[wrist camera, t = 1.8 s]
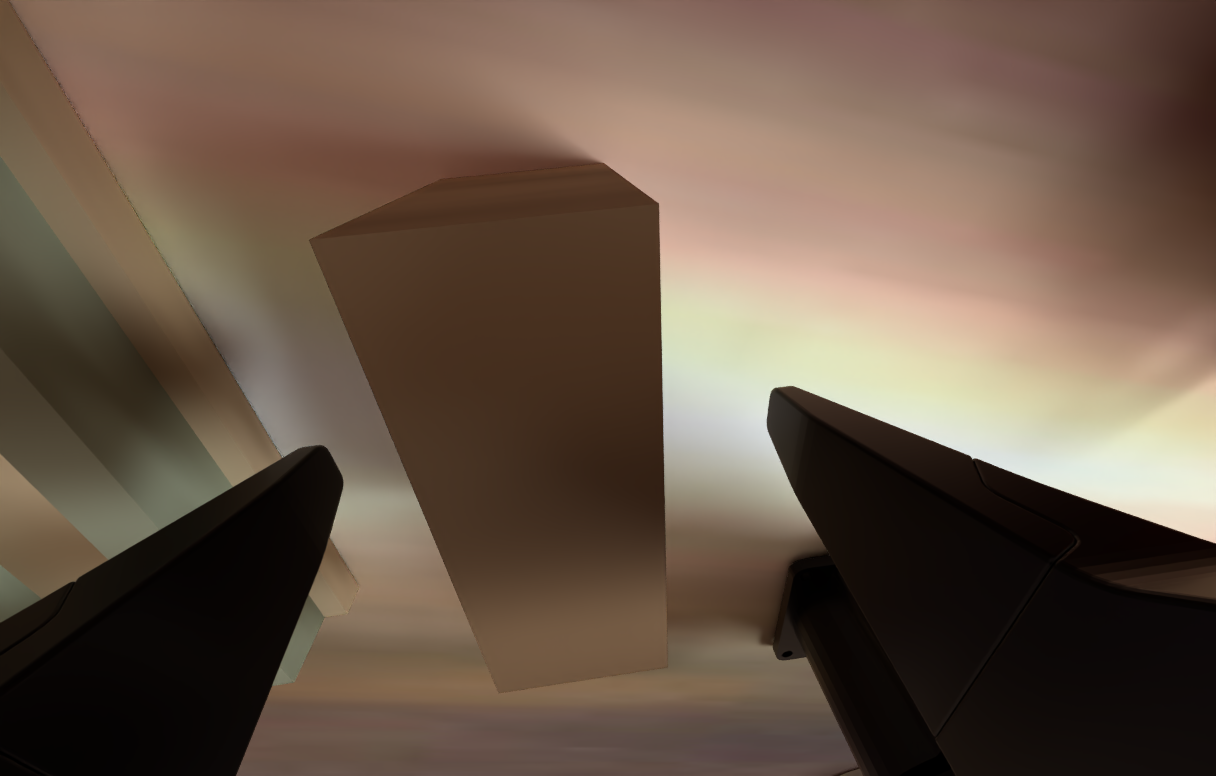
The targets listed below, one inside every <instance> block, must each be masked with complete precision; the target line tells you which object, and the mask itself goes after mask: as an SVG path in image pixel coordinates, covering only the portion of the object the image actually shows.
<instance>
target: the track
mask: <svg viewBox="0 0 1216 776" xmlns="http://www.w3.org/2000/svg"><path fill="white" fill-rule="evenodd" d="M280 459H282V457H281V456H280V454H279V452H278V451H277V449H276V447H275V446H274V444H273V442H272V441H271V439H270V437H269V436H268V434H267V432H266V431H265V429H264V427H263V426H262V424H261V422H260V421H259V419H258V417H257V416H256V414H255V412H254V410H253V409H252V407H251V405H250V404H249V402H248V400H247V399H246V397H245V395H244V394H243V392H242V390H241V389H240V387H239V385H238V384H237V382H236V380H235V379H234V377H233V375H232V374H231V372H230V370H229V369H228V367H227V365H226V364H225V362H224V360H223V359H222V357H221V355H220V354H219V352H218V350H217V349H216V347H215V345H214V344H213V342H212V340H211V339H210V337H209V335H208V334H207V332H206V330H205V329H204V327H203V325H202V324H201V322H200V320H199V318H198V317H197V315H196V313H195V312H194V310H193V308H192V307H191V305H190V303H189V302H188V300H187V298H186V297H185V295H184V293H183V292H182V290H181V288H180V287H179V285H178V283H177V282H176V280H175V278H174V277H173V275H172V273H171V272H170V270H169V268H168V267H167V265H166V263H165V262H164V260H163V258H162V257H161V255H160V253H159V252H158V250H157V248H156V247H155V245H154V243H153V242H152V240H151V238H150V237H149V235H148V233H147V232H146V230H145V228H144V227H143V225H142V223H141V221H140V220H139V218H138V216H137V215H136V213H135V211H134V210H133V208H132V206H131V205H130V203H129V201H128V200H127V198H126V196H125V195H124V193H123V191H122V190H121V188H120V186H119V185H118V183H117V181H116V180H115V178H114V176H113V175H112V173H111V171H110V170H109V168H108V166H107V165H106V163H105V161H104V160H103V158H102V156H101V155H100V153H99V151H98V150H97V148H96V146H95V145H94V143H93V141H92V140H91V138H90V136H89V135H88V133H87V131H86V130H85V128H84V126H83V124H82V123H81V121H80V119H79V118H78V116H77V114H76V113H75V111H74V109H73V108H72V106H71V104H70V103H69V101H68V99H67V98H66V96H65V94H64V93H63V91H62V89H61V88H60V86H59V84H58V83H57V81H56V79H55V78H54V76H53V74H52V73H51V71H50V69H49V68H48V66H47V64H46V63H45V61H44V59H43V58H42V56H41V54H40V53H39V51H38V49H37V48H36V46H35V44H34V43H33V41H32V39H31V38H30V36H29V34H28V33H27V31H26V29H25V27H24V26H23V24H22V22H21V21H20V19H19V17H18V16H17V14H16V12H15V11H14V9H13V7H12V6H11V4H10V2H9V1H8V0H0V622H2V621H4V620H6V619H7V618H9V617H11V616H13V615H14V614H16V613H18V612H20V611H21V610H23V609H25V608H27V607H28V606H30V605H32V604H34V603H35V602H37V601H39V600H40V599H42V598H44V597H46V596H47V595H49V594H51V593H52V592H54V591H56V590H58V589H59V588H61V587H63V586H64V585H66V584H68V583H70V582H73V581H74V582H76V580H77V579H78V578H79V577H80V576H82V575H83V574H85V573H87V572H89V571H90V570H92V569H94V568H95V567H97V566H99V565H100V564H102V563H104V562H106V561H107V560H109V559H111V558H112V557H114V556H116V555H118V554H119V553H121V552H123V551H124V550H126V549H128V548H130V547H131V546H133V545H135V544H136V543H138V542H140V541H141V540H143V539H145V538H147V537H148V536H150V535H152V534H153V533H155V532H157V531H159V530H160V529H162V528H164V527H165V526H167V525H169V524H171V523H172V522H174V521H176V520H177V519H179V518H181V517H182V516H184V515H186V514H188V513H189V512H191V511H193V510H194V509H196V508H198V507H200V506H201V505H203V504H205V503H206V502H208V501H210V500H212V499H213V498H215V497H217V496H218V495H220V494H222V493H224V492H225V491H227V490H229V489H230V488H232V487H234V486H235V485H237V484H239V483H241V482H242V481H244V480H246V479H247V478H249V477H251V476H253V475H254V474H256V473H258V472H259V471H261V470H263V469H265V468H266V467H268V466H270V465H271V464H273V463H275V462H276V461H278V460H280ZM358 589H359V586H358V584H357V583H356V581H355V579H354V578H353V576H352V574H351V573H350V571H349V569H348V568H347V566H346V564H345V563H344V561H343V559H342V558H341V556H340V554H339V553H338V551H337V549H336V548H335V546H334V544H333V543H332V541H331V539H330V538H329V540H328V544H327V547H326V551H325V554H324V557H323V560H322V562H321V565H320V568H319V570H318V573H317V575H316V578H315V580H314V583H313V585H312V588H311V590H310V593H309V595H308V598H307V600H306V603H305V605H304V608H303V610H302V613H301V615H300V618H299V620H298V623H297V625H296V628H295V630H294V633H293V635H292V638H291V640H290V643H289V645H288V648H287V650H286V653H285V655H284V658H283V660H282V662H281V665H280V667H279V670H278V672H277V675H276V677H275V680H274V682H273V685H272V686H274V685H281V684H288V683H294V682H295V680H296V678H297V675H298V673H299V671H300V669H301V667H302V665H303V663H304V660H305V658H306V656H307V654H308V652H309V650H310V648H311V646H312V643H313V641H314V639H315V637H316V635H317V633H318V631H319V628H320V626H321V624H322V622H323V620H324V618H325V617H331V616H338V615H345V614H348V612H349V610H350V608H351V605H352V603H353V601H354V598H355V596H356V593H357V591H358Z"/></svg>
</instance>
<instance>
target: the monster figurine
mask: <svg viewBox="0 0 1216 776" xmlns="http://www.w3.org/2000/svg"><path fill="white" fill-rule="evenodd" d="M840 776H863V775H862V773H861V770H860V769H857V770H854V771H850V772H847V773H845V774H842V775H840Z"/></svg>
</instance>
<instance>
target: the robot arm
mask: <svg viewBox="0 0 1216 776" xmlns="http://www.w3.org/2000/svg"><path fill="white" fill-rule="evenodd" d="M767 429H768V432H769V435H770V437H771V440H772V442H773V444H774V447H775V449H776V451H777V454H778V456H779V458H780V461H781V463H782V465H783V468H784V470H785V472H786V475H787V477H788V479H789V482H790V484H791V486H792V488H793V491H794V493H795V495H796V496H797V498H798V500H799V502H800V504H801V505H802V507H803V509H804V511H805V512H806V514H807V516H808V518H809V519H810V521H811V523H812V525H813V526H814V528H815V530H816V532H817V533H818V535H819V537H820V539H821V540H822V542H823V544H824V546H825V547H826V549H827V551H828V553H829V554H830V555H829V556H823V557H816V558H809V559H802V560H799V561H796V562H795V563H793V564H792V565H791V566H790V568H789V570H788V575H787V580H786V585H785V589H784V594H783V599H782V604H781V609H780V614H779V619H778V624H777V628H776V633H775V638H774V643H773V650H774V652H775V655H776V657H777V659H779V660H790V659H797V658H803V657H807V659H808V661H809V663H810V665H811V667H812V670H813V672H814V674H815V676H816V678H817V680H818V682H819V684H820V686H821V688H822V691H823V693H824V695H825V697H826V699H827V701H828V703H829V705H830V707H831V710H832V712H833V714H834V716H835V718H836V720H837V722H838V724H839V726H840V728H841V731H842V733H843V735H844V737H845V739H846V741H847V743H848V745H849V747H850V749H851V752H852V754H853V756H854V758H855V760H856V762H857V764H858V766H859V768H860V770H861V773H862V775H863V776H1216V543H1213V542H1209V541H1206V540H1203V539H1200V538H1197V537H1194V536H1191V535H1188V534H1185V533H1183V532H1180V531H1177V530H1174V529H1171V528H1168V527H1165V526H1162V525H1159V524H1156V523H1153V522H1150V521H1148V520H1145V519H1142V518H1139V517H1136V516H1133V515H1130V514H1127V513H1124V512H1121V511H1118V510H1116V509H1113V508H1110V507H1107V506H1104V505H1101V504H1098V503H1095V502H1092V501H1089V500H1086V499H1084V498H1081V497H1078V496H1075V495H1072V494H1069V493H1067V492H1064V491H1061V490H1058V489H1055V488H1053V487H1050V486H1047V485H1044V484H1041V483H1038V482H1036V481H1033V480H1031V479H1028V478H1025V477H1023V476H1020V475H1017V474H1015V473H1012V472H1010V471H1007V470H1004V469H1002V468H999V467H997V466H994V465H992V464H989V463H987V462H984V461H982V460H979V459H973V460H972V458H971V456H969V455H966V454H964V453H961V452H959V451H956V450H954V449H951V448H948V447H946V446H943V445H941V444H938V443H936V442H933V441H931V440H928V439H926V438H923V437H921V436H918V435H916V434H913V433H911V432H908V431H906V430H903V429H900V428H898V427H895V426H893V425H890V424H888V423H885V422H883V421H880V420H878V419H875V418H873V417H870V416H868V415H865V414H863V413H860V412H858V411H855V410H852V409H850V408H847V407H845V406H842V405H840V404H837V403H835V402H832V401H830V400H827V399H825V398H822V397H820V396H817V395H815V394H812V393H810V392H807V391H805V390H802V389H799V388H797V387H794V386H786V387H778V388H774V389H773V390H772V391H771V394H770V399H769V407H768V415H767ZM342 490H343V477H342V475H341V473H340V471H339V469H338V467H337V465H336V463H335V461H334V459H333V457H332V455H331V453H330V452H329V450H328V449H327V448H326V447H325V446H322V445H316V446H308V447H302V448H299V449H297V450H295V451H294V452H292V453H290V454H288V455H287V456H285V457H283V458H282V459H280V460H278V461H276V462H275V463H273V464H271V465H270V466H268V467H266V468H265V469H263V470H261V471H259V472H258V473H256V474H254V475H253V476H251V477H249V478H247V479H246V480H244V481H242V482H241V483H239V484H237V485H235V486H234V487H232V488H230V489H229V490H227V491H225V492H224V493H222V494H220V495H218V496H217V497H215V498H213V499H212V500H210V501H208V502H206V503H205V504H203V505H201V506H200V507H198V508H196V509H194V510H193V511H191V512H189V513H188V514H186V515H184V516H182V517H181V518H179V519H177V520H176V521H174V522H172V523H171V524H169V525H167V526H165V527H164V528H162V529H160V530H159V531H157V532H155V533H153V534H152V535H150V536H148V537H147V538H145V539H143V540H141V541H140V542H138V543H136V544H135V545H133V546H131V547H130V548H128V549H126V550H124V551H123V552H121V553H119V554H118V555H116V556H114V557H112V558H111V559H109V560H107V561H106V562H104V563H102V564H100V565H99V566H97V567H95V568H94V569H92V570H90V571H89V572H87V573H85V574H83V575H82V576H80V577H79V578H78V579H77V580H76V582H74V581H73V582H70V583H68V584H66V585H64V586H63V587H61V588H59V589H58V590H56V591H54V592H52V593H51V594H49V595H47V596H46V597H44V598H42V599H40V600H39V601H37V602H35V603H34V604H32V605H30V606H28V607H27V608H25V609H23V610H21V611H20V612H18V613H16V614H14V615H13V616H11V617H9V618H7V619H6V620H4V621H2V622H0V776H236V774H237V772H238V770H239V767H240V765H241V762H242V760H243V757H244V755H245V752H246V750H247V747H248V745H249V742H250V740H251V737H252V735H253V732H254V730H255V727H256V725H257V722H258V720H259V717H260V715H261V712H262V710H263V707H264V705H265V702H266V700H267V697H268V695H269V692H270V690H271V687H272V685H273V682H274V680H275V677H276V675H277V672H278V670H279V667H280V665H281V662H282V660H283V658H284V655H285V653H286V650H287V648H288V645H289V643H290V640H291V638H292V635H293V633H294V630H295V628H296V625H297V623H298V620H299V618H300V615H301V613H302V610H303V608H304V605H305V603H306V600H307V598H308V595H309V593H310V590H311V588H312V585H313V583H314V580H315V578H316V575H317V573H318V570H319V568H320V565H321V562H322V560H323V557H324V554H325V551H326V547H327V544H328V540H329V537H330V533H331V530H332V526H333V523H334V519H335V515H336V512H337V508H338V505H339V501H340V497H341V494H342Z"/></svg>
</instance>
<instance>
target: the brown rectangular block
mask: <svg viewBox="0 0 1216 776" xmlns="http://www.w3.org/2000/svg"><path fill="white" fill-rule="evenodd" d="M309 241H310V244H311V246H312V248H313V251H314V253H315V256H316V258H317V260H318V263H319V265H320V268H321V270H322V272H323V275H324V277H325V279H326V282H327V284H328V287H329V289H330V291H331V294H332V296H333V299H334V301H335V303H336V306H337V308H338V311H339V313H340V315H341V318H342V320H343V323H344V325H345V327H346V330H347V332H348V334H349V337H350V339H351V342H352V344H353V346H354V349H355V351H356V354H357V356H358V358H359V361H360V363H361V366H362V368H363V370H364V373H365V375H366V378H367V380H368V382H369V385H370V387H371V389H372V392H373V394H374V397H375V399H376V401H377V404H378V406H379V409H380V411H381V413H382V416H383V418H384V421H385V423H386V425H387V428H388V430H389V433H390V435H391V437H392V440H393V442H394V444H395V447H396V449H397V452H398V454H399V456H400V459H401V461H402V464H403V466H404V468H405V471H406V473H407V476H408V478H409V480H410V483H411V485H412V488H413V490H414V492H415V495H416V497H417V499H418V502H419V504H420V507H421V509H422V511H423V514H424V516H425V519H426V521H427V523H428V526H429V528H430V531H431V533H432V535H433V538H434V540H435V543H436V545H437V547H438V550H439V552H440V555H441V557H442V559H443V562H444V564H445V566H446V569H447V571H448V574H449V576H450V578H451V581H452V583H453V586H454V588H455V590H456V593H457V595H458V598H459V600H460V602H461V605H462V607H463V610H464V612H465V614H466V617H467V619H468V621H469V624H470V626H471V629H472V631H473V633H474V636H475V638H476V641H477V643H478V645H479V648H480V650H481V653H482V655H483V657H484V660H485V662H486V665H487V667H488V669H489V672H490V674H491V676H492V679H493V681H494V684H495V686H496V688H497V691H498V693H504V692H511V691H517V690H524V689H530V688H537V687H543V686H550V685H556V684H563V683H569V682H576V681H582V680H589V679H595V678H602V677H608V676H615V675H621V674H628V673H634V672H641V671H647V670H654V669H660V668H667V667H668V652H667V600H666V548H665V496H664V444H663V392H662V340H661V288H660V236H659V203H657V202H656V201H654V200H653V199H652V198H650V197H649V196H648V195H646V194H645V193H644V192H642V191H641V190H640V189H638V188H637V187H635V186H634V185H633V184H631V183H630V182H629V181H627V180H626V179H625V178H623V177H622V176H621V175H619V174H618V173H616V172H615V171H614V170H612V169H611V168H610V167H608V166H607V165H606V164H604V163H602V164H592V165H581V166H571V167H561V168H551V169H541V170H531V171H520V172H510V173H500V174H490V175H480V176H469V177H459V178H449V179H441V180H439V181H436V182H434V183H432V184H430V185H428V186H425V187H423V188H421V189H419V190H417V191H414V192H412V193H410V194H408V195H406V196H404V197H401V198H399V199H397V200H395V201H393V202H390V203H388V204H386V205H384V206H382V207H380V208H377V209H375V210H373V211H371V212H369V213H366V214H364V215H362V216H360V217H358V218H356V219H353V220H351V221H349V222H347V223H345V224H342V225H340V226H338V227H336V228H334V229H332V230H329V231H327V232H325V233H323V234H321V235H318V236H316V237H314V238H312V239H310V240H309Z"/></svg>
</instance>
